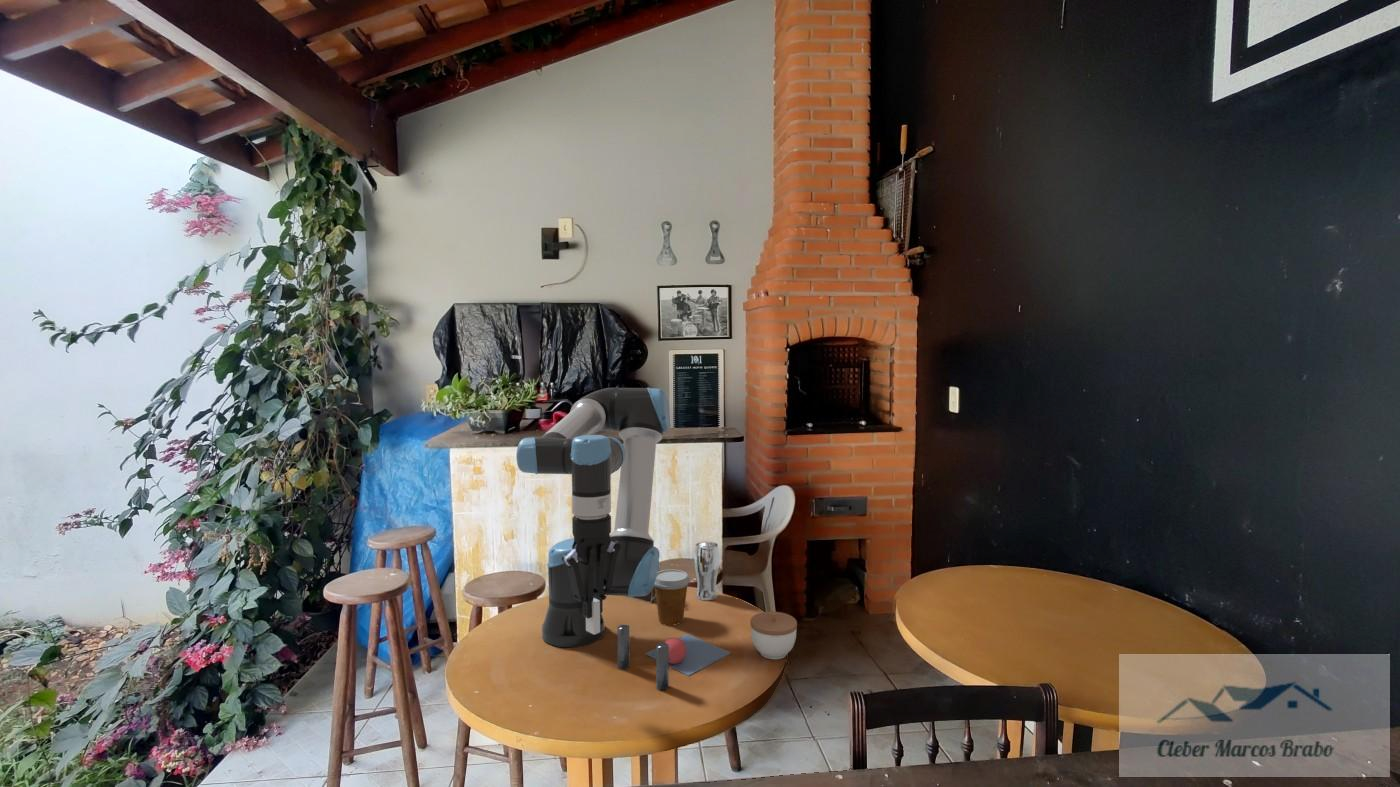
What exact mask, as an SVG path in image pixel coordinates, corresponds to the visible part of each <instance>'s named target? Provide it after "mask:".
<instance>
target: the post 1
mask: <svg viewBox="0 0 1400 787" xmlns="http://www.w3.org/2000/svg"><path fill="white" fill-rule="evenodd" d="M629 668H630V625H627V624H620V625H618V626H617V669H619V670H621V671H622V670H628V669H629Z"/></svg>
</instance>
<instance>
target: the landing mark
mask: <svg viewBox="0 0 1400 787" xmlns="http://www.w3.org/2000/svg"><path fill="white" fill-rule="evenodd" d="M678 638H679V639H681V640H682V641H683V642H684V644H685V646H686V655H685V657H684V659H683V660H682V661H681V662H679V663H677V664H671V663H669V668H671V669H673V670H675V671H678V672H679V673H681V674H684V675H686V676H687V677H690V676H691V675H693V674H695V673H697V672H698V671H700V670H703V669H705V668H706V667H708V666H710V665H712V664H714V663H716V662H717V661H719V660H722V659H724V658H725V657H727V656H728V655H730V654H731V655H732V653H731V652H730V651H729V650H727V649H724V648H722V647H719V646H717V645H714V644H712V643H710V642H707V641H705V640H702V639H700V638H698V637H696V636H694V635H691V634H689V633H687V634H685V635H681V636H680V637H678ZM645 654H646V656H647V655H648V656H647V657H649V656H650V657H649V658H651V657H652V658H651V659H653V658H654V659H653V660H655V661H656V648H655V649H652V650H650V651H648V652H646V653H645Z"/></svg>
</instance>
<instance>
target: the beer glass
mask: <svg viewBox="0 0 1400 787" xmlns="http://www.w3.org/2000/svg"><path fill="white" fill-rule="evenodd" d="M694 547H695V549H694V570H695V575H696V579H697V580H696V582H697V586H696V587H697V589H696V595H695V597H696V599H698V600H701V601H713V600H716V599H717V598H718V592H717V591H718V590H717V579H718V572H719V566H720V551H719V544H718V543H717V542H715V541H714V542H713V541H707V540H706V541H699V542H697V543H695V546H694Z"/></svg>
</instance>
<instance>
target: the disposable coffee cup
mask: <svg viewBox="0 0 1400 787" xmlns="http://www.w3.org/2000/svg"><path fill="white" fill-rule="evenodd" d="M689 583H690V578H689V576H688V573H687V572H686V571H683V570H681V569H671V568H670V569H663V570H660V571H659V572H657V577H656V581H655V584H654V585H655V593H656V595H655V600H656V608H657V615H658V621H659V623H660V624H662V625H664V624H666V626H675V625H674V624H677V625H679V624H678V623H680V624H681V623H683V622H682V621H684V614H685V606H686V600H687V599H686V598H687V592H688V586H689Z"/></svg>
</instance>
